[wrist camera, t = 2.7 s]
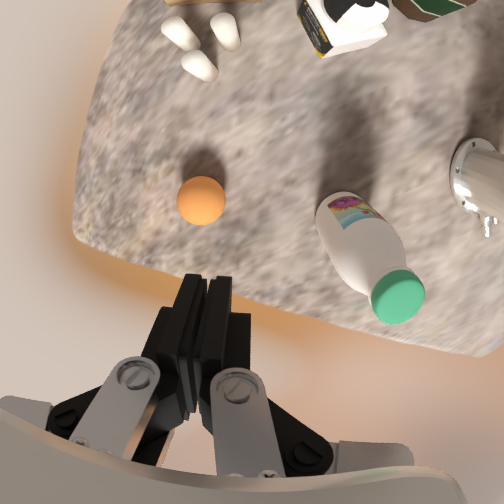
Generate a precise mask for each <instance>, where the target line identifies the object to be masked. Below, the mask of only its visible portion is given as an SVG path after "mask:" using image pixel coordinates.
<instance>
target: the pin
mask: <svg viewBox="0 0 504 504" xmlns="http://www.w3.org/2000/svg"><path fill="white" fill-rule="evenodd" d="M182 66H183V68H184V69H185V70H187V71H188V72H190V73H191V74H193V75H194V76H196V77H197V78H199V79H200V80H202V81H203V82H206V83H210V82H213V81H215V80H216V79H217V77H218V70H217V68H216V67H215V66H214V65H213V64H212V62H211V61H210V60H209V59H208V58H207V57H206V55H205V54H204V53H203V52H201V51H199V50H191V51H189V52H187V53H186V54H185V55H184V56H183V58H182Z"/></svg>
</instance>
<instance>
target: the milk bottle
mask: <svg viewBox="0 0 504 504" xmlns="http://www.w3.org/2000/svg"><path fill="white" fill-rule="evenodd" d="M315 224H316V228H317V231H318V233H319V235H320V238H321V240H322V242H323V244H324V246H325V248H326V250H327V252H328V254H329V256H330V258H331V260H332V263H333V265H334V266H335V268H336V270H337V272H338V273H339V275H340V276H341V278H342V279H343V280H344V281H345V282H346V283H347V284H348V285H349V286H350V287H352V288H353V289H355V290H357V291H359V292H361V293H364V294H366V295H367V296H368V298H369V302H370V304H371V306H372V308H373V310H374V312H375V314H376V316H377V317H378V319H379V320H381V321H382V322H383V323H385V324H390V325H395V324H400V323H402V322H405V321H407V320H408V319H410V318H411V317H413V316H414V315H415V314H416V313H417V312H418V310H419V309H420V308H421V306H422V304H423V301H424V298H425V289H424V286H423V284H422V282H421V281H420V279H419V278H418V277H417V276H416V275H415V274H414V272H413V271H412V270H411V269H410V268H408V267H407V266H406V257H405V250H404V246H403V243H402V241H401V239H400V237H399V235H398V234H397V232H396V231H395V229H394V228H393V227H392V226H391V225H390V224H389V223H388V222H387V221H386V220H385V219H384V218H383V217H382V216H381V215H380V214H379V213H378V212H376V211H375V210H374V209H373V208H372V207H371V206H370V205H369V204H367V203H366V202H365V201H364V200H363V199H361V198H360V197H359V196H357V195H355V194H353V193H350V192H337V193H334V194H332V195H330V196H328V197H327V198H326V199H324V200H323V202H322V203H321V204H320V206H319V207H318V209H317V212H316V217H315Z"/></svg>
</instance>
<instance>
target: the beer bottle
mask: <svg viewBox="0 0 504 504" xmlns="http://www.w3.org/2000/svg"><path fill="white" fill-rule="evenodd" d="M392 1H393V5H394V6H395V7H396V8H397V9H398V10H400V11H401V12H402V13H403V14H404V15H405V16H406V17H407V18H409V19H413V20H417V21H421V22H428V21H431V20H434V19H436V18H438V17H441V16H443V15H446V14H448V13H451V12H453V11H456V10H458V9H461V8H464V7H467V6H469V5H471V4H473V3H475V2H476V1H477V0H392Z"/></svg>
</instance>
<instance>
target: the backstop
mask: <svg viewBox="0 0 504 504" xmlns="http://www.w3.org/2000/svg"><path fill="white" fill-rule="evenodd" d="M164 1H165V2H166V3H167V4H168V5H169V6H178V5H186V4H197V3H211V2H262V0H164Z"/></svg>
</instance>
